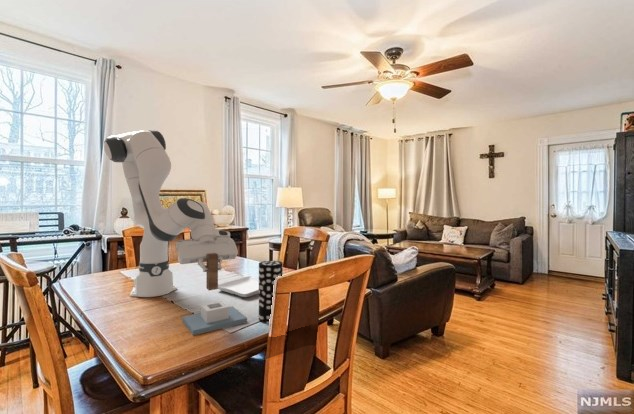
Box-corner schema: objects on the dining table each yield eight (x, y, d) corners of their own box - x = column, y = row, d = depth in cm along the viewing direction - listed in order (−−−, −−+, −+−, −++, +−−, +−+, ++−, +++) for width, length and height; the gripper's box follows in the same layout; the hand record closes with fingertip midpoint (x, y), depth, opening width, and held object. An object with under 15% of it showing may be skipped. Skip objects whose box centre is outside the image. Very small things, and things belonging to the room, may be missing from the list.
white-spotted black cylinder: (261, 314, 114) (261, 260, 114) (283, 314, 114) (284, 260, 114) (256, 323, 106) (256, 265, 106) (280, 323, 106) (280, 265, 105)
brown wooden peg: (206, 288, 107) (206, 253, 107) (215, 287, 109) (215, 252, 108) (208, 290, 104) (209, 255, 104) (217, 289, 106) (218, 254, 106)
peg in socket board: (182, 320, 108) (182, 305, 108) (232, 310, 119) (232, 295, 118) (192, 335, 97) (192, 317, 97) (247, 322, 107) (247, 306, 107)
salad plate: (244, 301, 130) (244, 293, 129) (214, 292, 142) (214, 284, 142) (279, 289, 146) (279, 282, 146) (249, 282, 159) (249, 275, 159)
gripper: (175, 234, 106) (181, 268, 98) (233, 231, 118) (243, 261, 110) (173, 246, 110) (178, 279, 102) (229, 242, 121) (238, 271, 113)
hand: (212, 270), depth 106 cm, fingers closed on brown wooden peg, 3 cm apart
